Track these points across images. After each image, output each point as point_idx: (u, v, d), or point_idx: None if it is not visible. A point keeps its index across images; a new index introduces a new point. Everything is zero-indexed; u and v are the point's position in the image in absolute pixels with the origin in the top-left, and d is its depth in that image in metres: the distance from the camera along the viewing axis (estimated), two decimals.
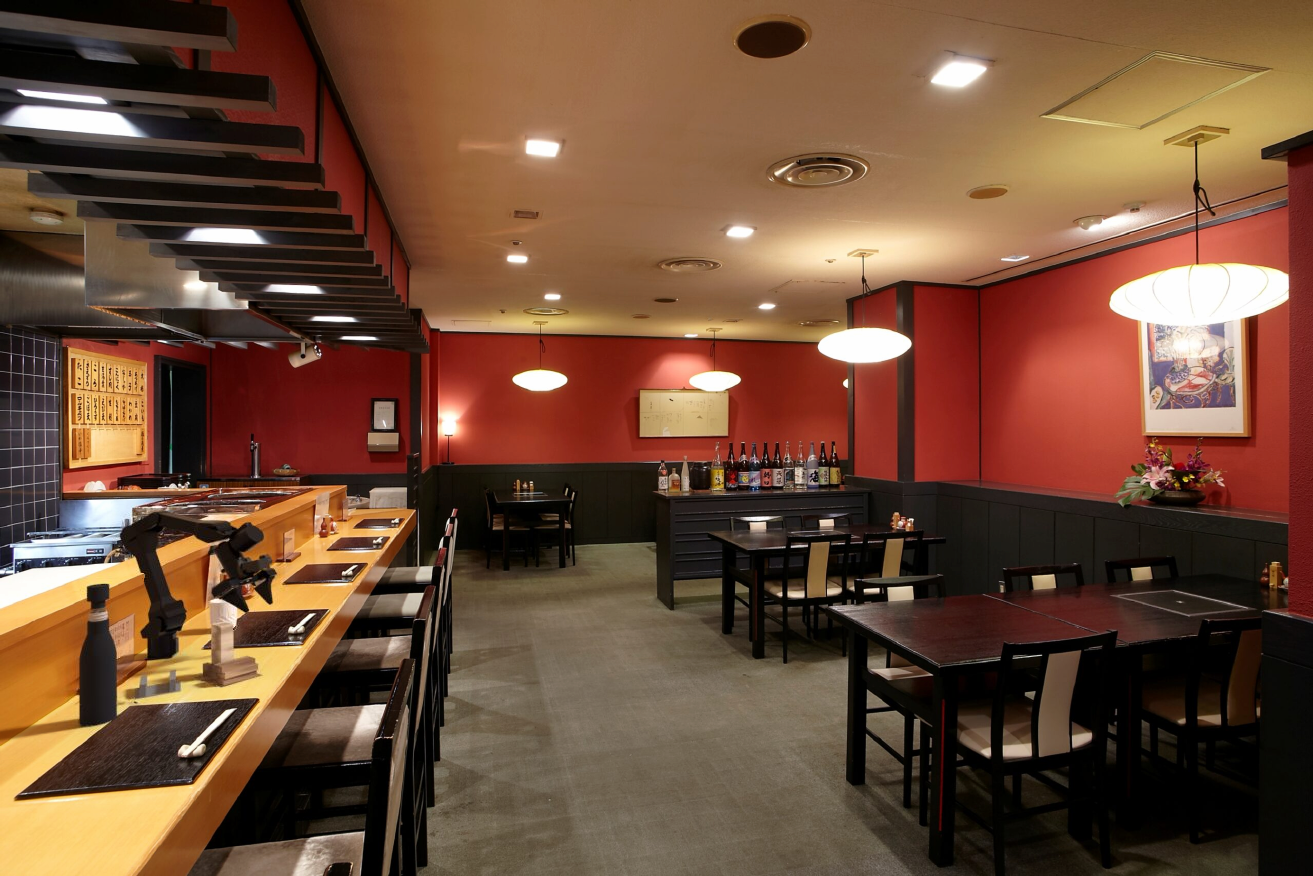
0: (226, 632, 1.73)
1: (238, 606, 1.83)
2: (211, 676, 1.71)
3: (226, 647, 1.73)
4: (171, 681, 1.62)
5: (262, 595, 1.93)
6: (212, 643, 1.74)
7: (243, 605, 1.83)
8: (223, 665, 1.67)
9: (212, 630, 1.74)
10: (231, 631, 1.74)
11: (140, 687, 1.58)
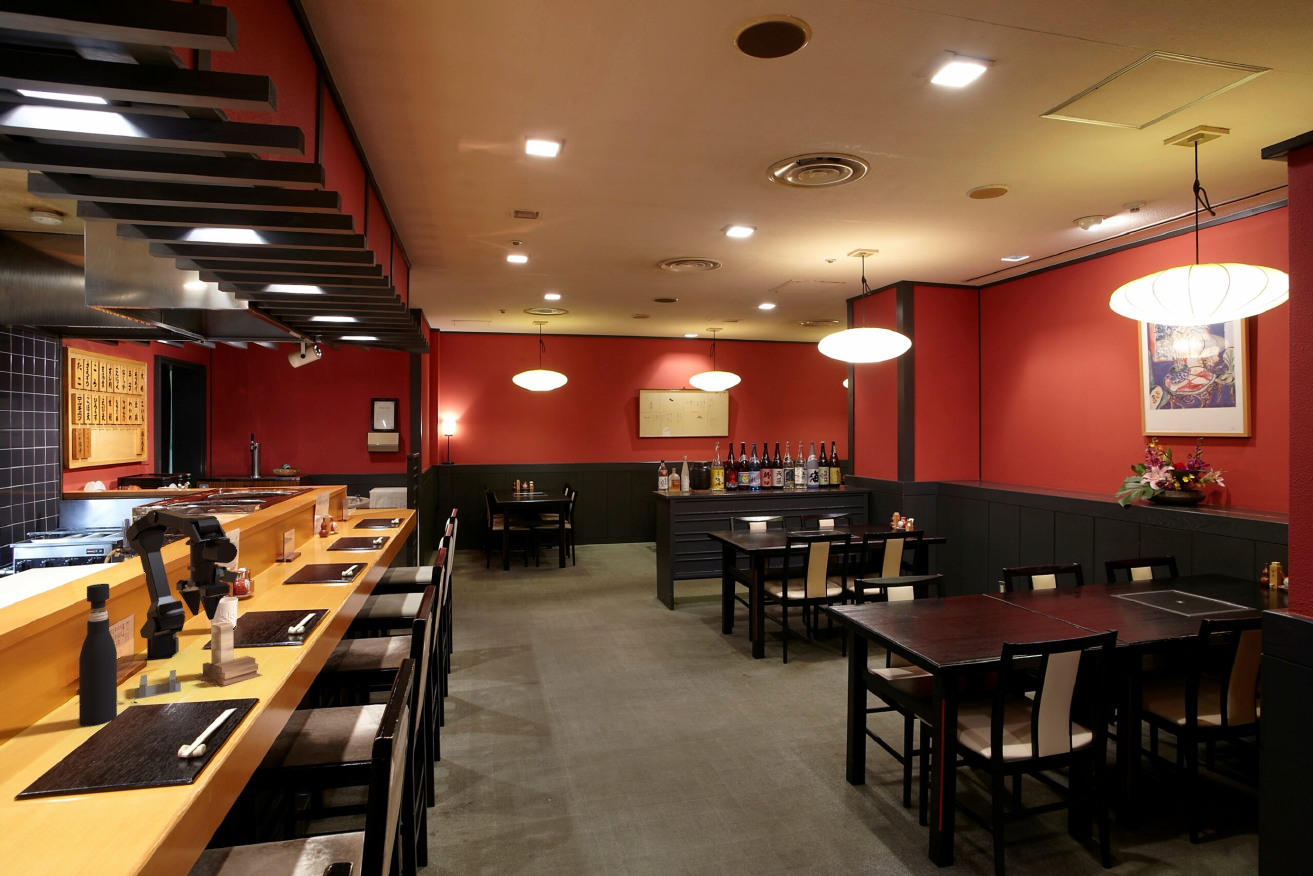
0: (226, 632, 1.73)
1: (209, 611, 1.82)
2: (211, 676, 1.71)
3: (226, 647, 1.73)
4: (171, 681, 1.62)
5: (190, 603, 1.87)
6: (212, 643, 1.74)
7: (214, 612, 1.83)
8: (223, 665, 1.67)
9: (212, 630, 1.74)
10: (231, 631, 1.74)
11: (140, 687, 1.58)
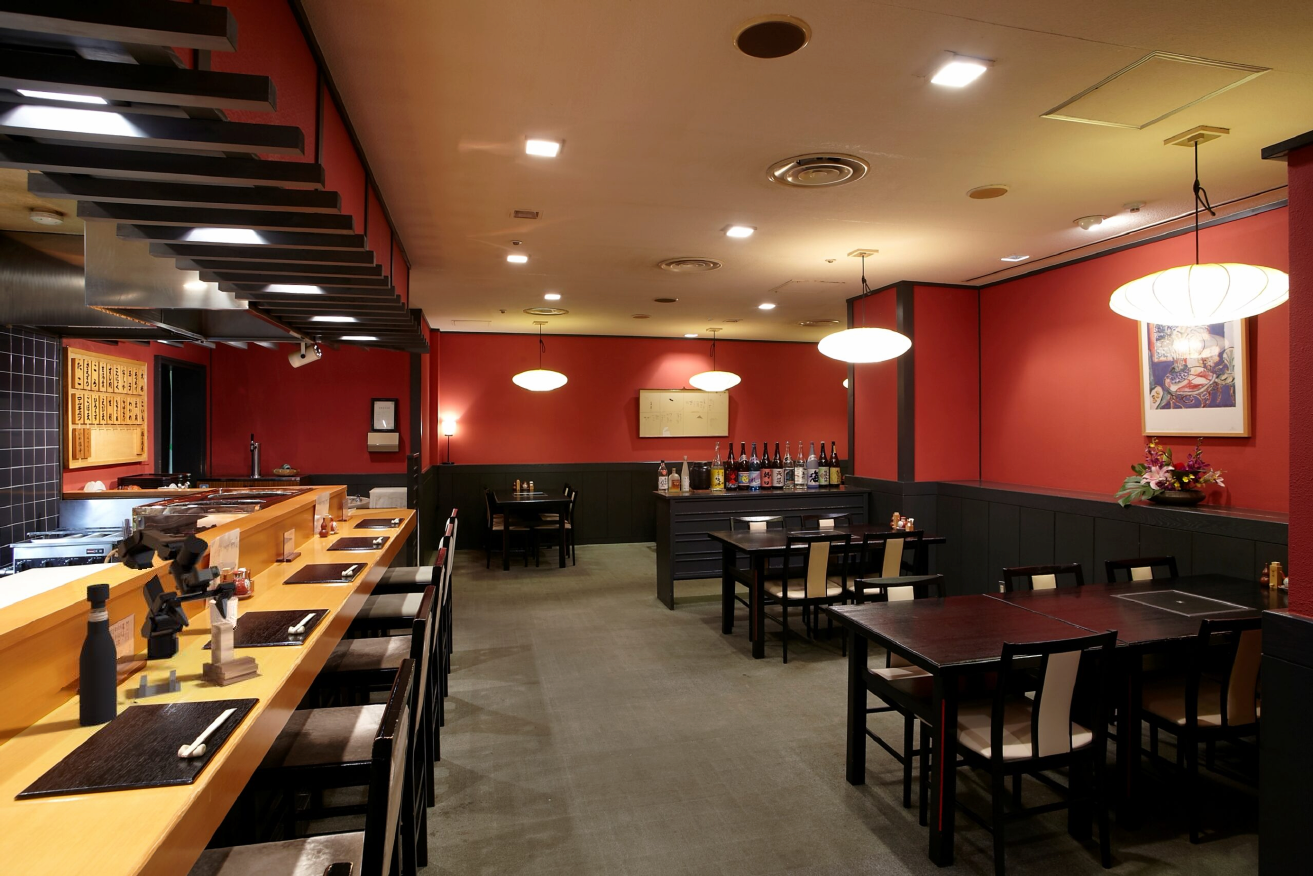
0: (226, 632, 1.73)
1: (179, 620, 1.75)
2: (211, 676, 1.71)
3: (226, 647, 1.73)
4: (171, 681, 1.62)
5: (219, 610, 1.84)
6: (212, 643, 1.74)
7: (182, 619, 1.75)
8: (223, 665, 1.67)
9: (212, 630, 1.74)
10: (231, 631, 1.74)
11: (140, 687, 1.58)
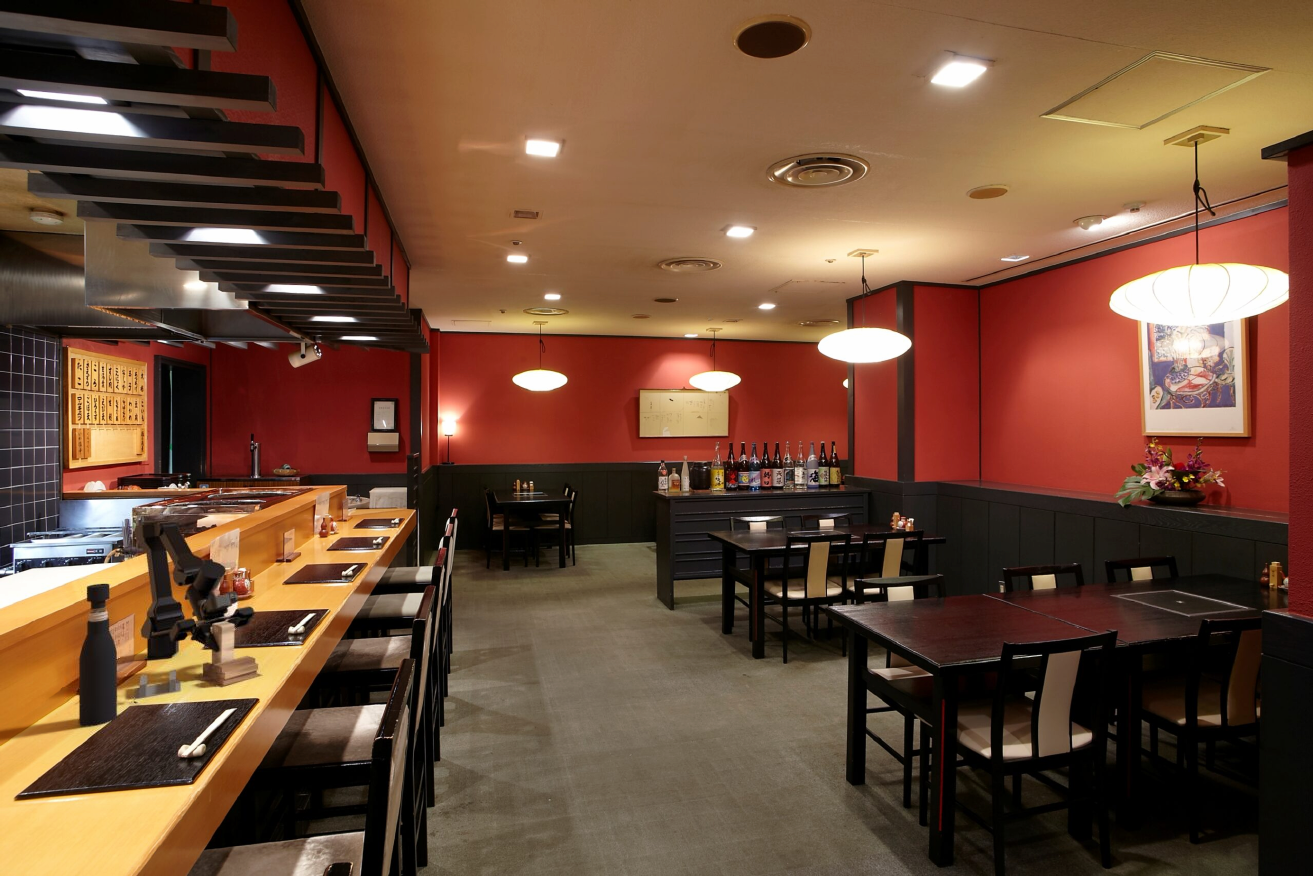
0: (227, 632, 1.73)
1: (209, 646, 1.73)
2: (211, 676, 1.71)
3: (227, 647, 1.73)
4: (171, 681, 1.62)
5: None
6: None
7: (212, 644, 1.72)
8: (223, 665, 1.67)
9: (213, 630, 1.74)
10: (232, 631, 1.74)
11: (140, 687, 1.58)
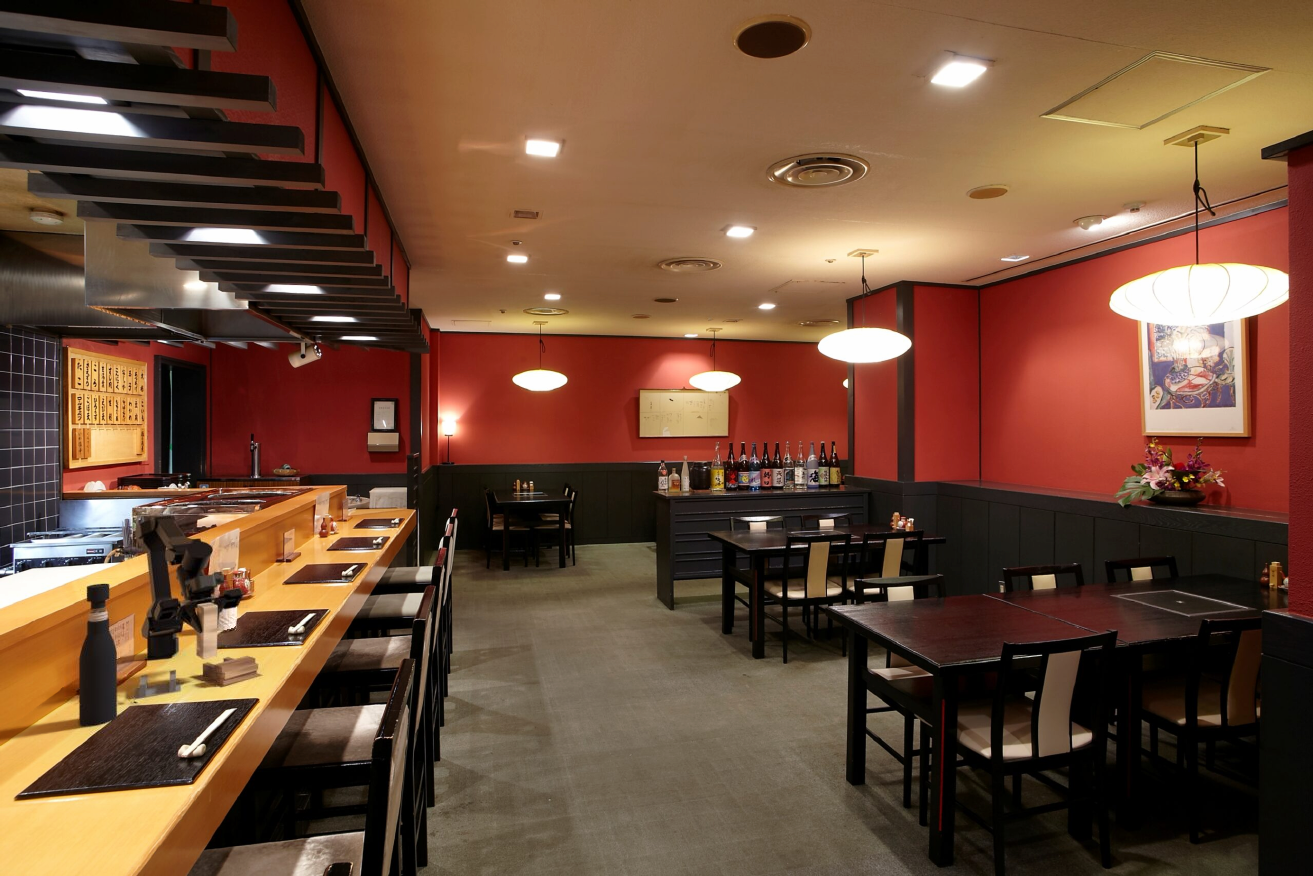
0: (210, 613, 1.70)
1: (193, 626, 1.70)
2: (211, 676, 1.71)
3: (209, 629, 1.70)
4: (171, 681, 1.62)
5: None
6: None
7: (196, 625, 1.69)
8: (223, 665, 1.67)
9: (197, 610, 1.71)
10: (215, 612, 1.71)
11: (140, 687, 1.58)
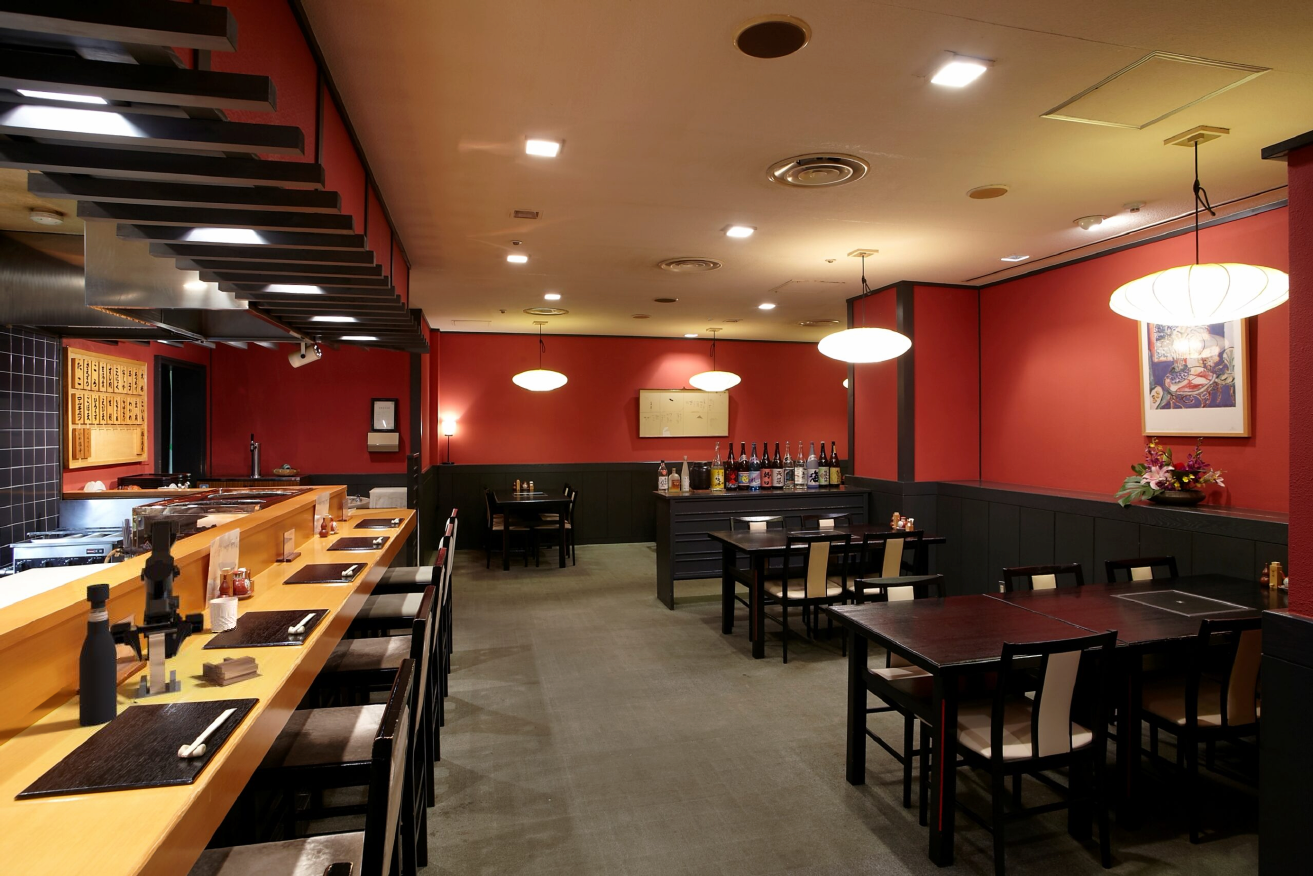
0: (156, 646, 1.62)
1: (136, 653, 1.62)
2: (211, 676, 1.71)
3: (156, 662, 1.61)
4: (171, 681, 1.62)
5: None
6: None
7: (136, 652, 1.61)
8: (223, 665, 1.67)
9: None
10: (162, 645, 1.62)
11: (140, 687, 1.58)
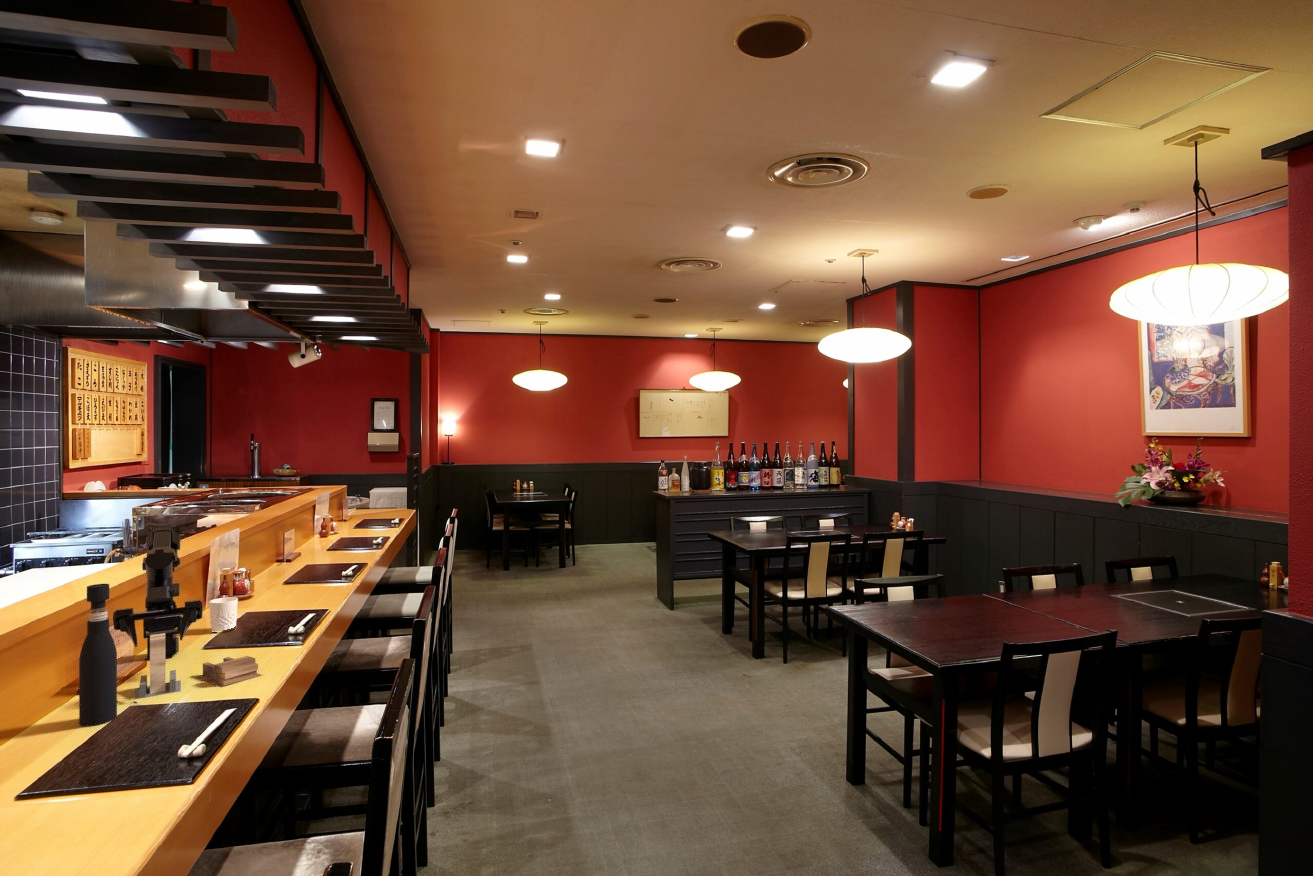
0: (157, 646, 1.62)
1: (131, 639, 1.69)
2: (211, 676, 1.71)
3: (156, 662, 1.62)
4: (171, 681, 1.62)
5: None
6: None
7: (132, 638, 1.68)
8: (223, 665, 1.67)
9: None
10: (163, 645, 1.62)
11: (140, 687, 1.58)
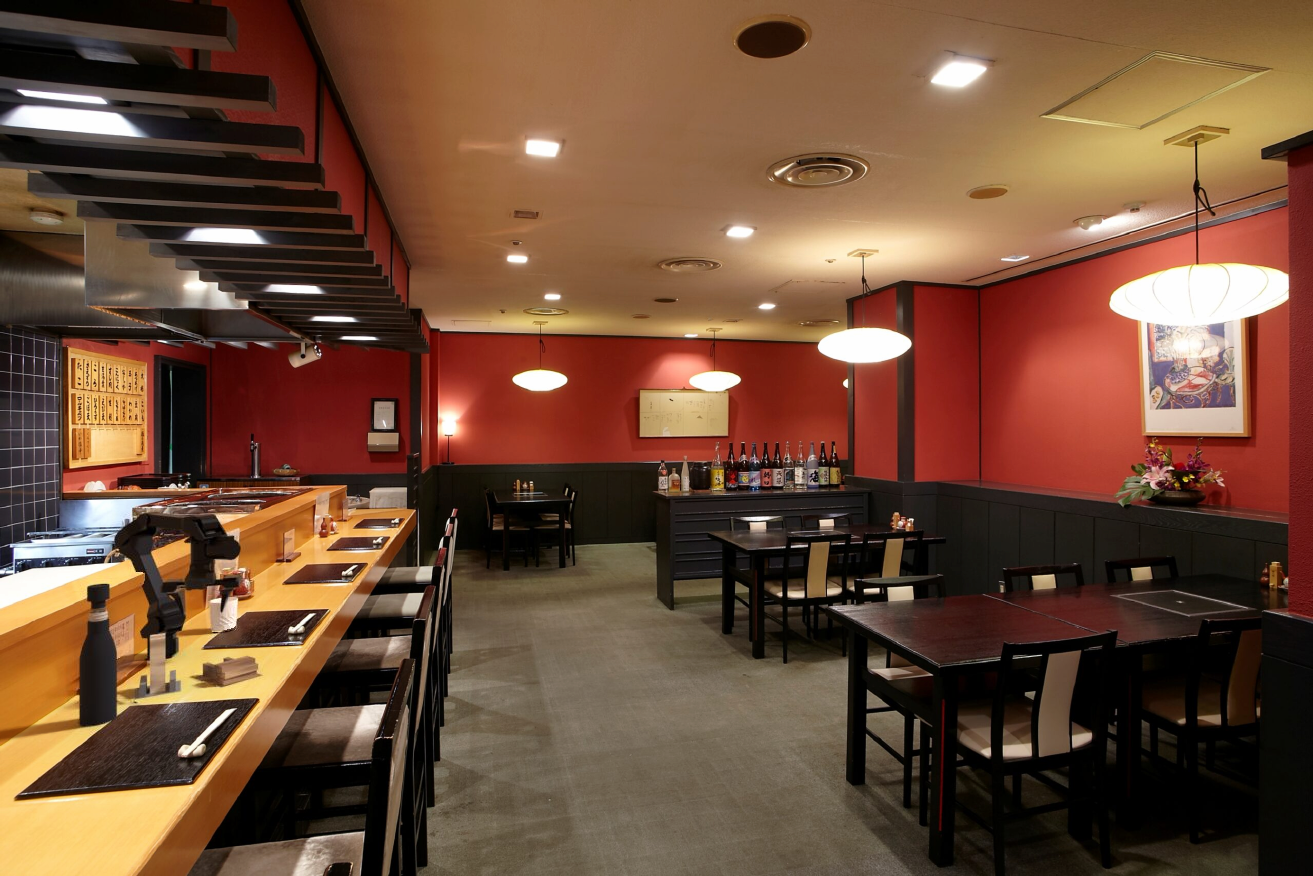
0: (157, 646, 1.62)
1: None
2: (211, 676, 1.71)
3: (156, 662, 1.62)
4: (171, 681, 1.62)
5: None
6: None
7: None
8: (223, 665, 1.67)
9: None
10: (163, 645, 1.62)
11: (140, 687, 1.58)
